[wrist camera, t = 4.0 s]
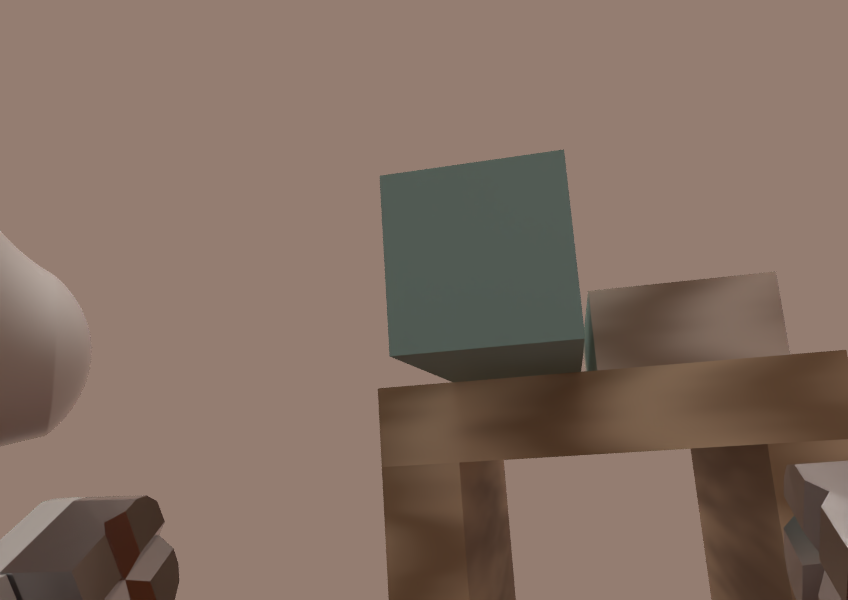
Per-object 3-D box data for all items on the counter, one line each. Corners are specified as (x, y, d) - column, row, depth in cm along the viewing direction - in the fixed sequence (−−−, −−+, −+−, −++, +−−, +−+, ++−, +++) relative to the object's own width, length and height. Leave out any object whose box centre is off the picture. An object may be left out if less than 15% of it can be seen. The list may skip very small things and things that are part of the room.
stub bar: (389, 356, 15) (379, 175, 15) (494, 399, 34) (487, 318, 35) (585, 338, 14) (563, 149, 15) (578, 392, 33) (569, 310, 34)
